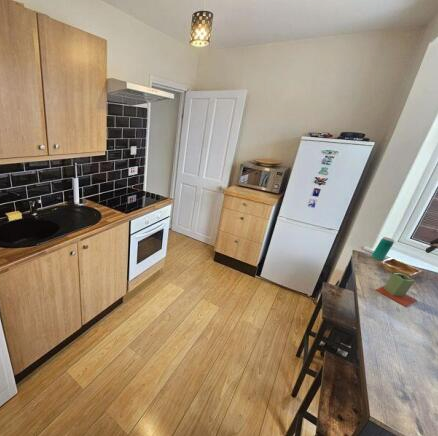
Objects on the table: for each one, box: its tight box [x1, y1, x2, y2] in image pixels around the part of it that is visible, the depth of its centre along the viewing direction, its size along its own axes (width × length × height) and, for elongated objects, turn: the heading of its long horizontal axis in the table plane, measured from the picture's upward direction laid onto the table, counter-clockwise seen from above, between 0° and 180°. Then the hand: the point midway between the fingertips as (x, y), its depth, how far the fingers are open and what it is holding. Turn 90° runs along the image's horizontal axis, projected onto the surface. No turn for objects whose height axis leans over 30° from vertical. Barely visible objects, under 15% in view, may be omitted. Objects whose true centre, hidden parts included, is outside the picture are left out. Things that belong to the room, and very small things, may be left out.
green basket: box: [382, 272, 416, 297], centre depth 117 cm, size 6×6×10 cm
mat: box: [375, 285, 418, 308], centre depth 118 cm, size 12×12×1 cm
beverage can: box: [371, 236, 395, 262], centre depth 146 cm, size 6×6×15 cm
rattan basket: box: [378, 257, 423, 280], centre depth 138 cm, size 14×14×4 cm
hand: (436, 256), depth 114 cm, fingers open, 8 cm apart
